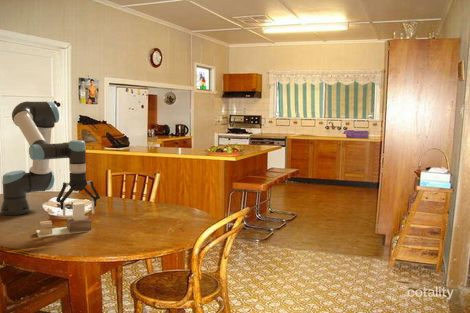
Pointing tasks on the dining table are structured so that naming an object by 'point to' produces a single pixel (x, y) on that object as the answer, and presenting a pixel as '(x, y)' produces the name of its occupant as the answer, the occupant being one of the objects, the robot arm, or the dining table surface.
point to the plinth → (78, 225)
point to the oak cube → (46, 227)
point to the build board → (57, 232)
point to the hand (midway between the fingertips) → (78, 214)
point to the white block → (78, 211)
